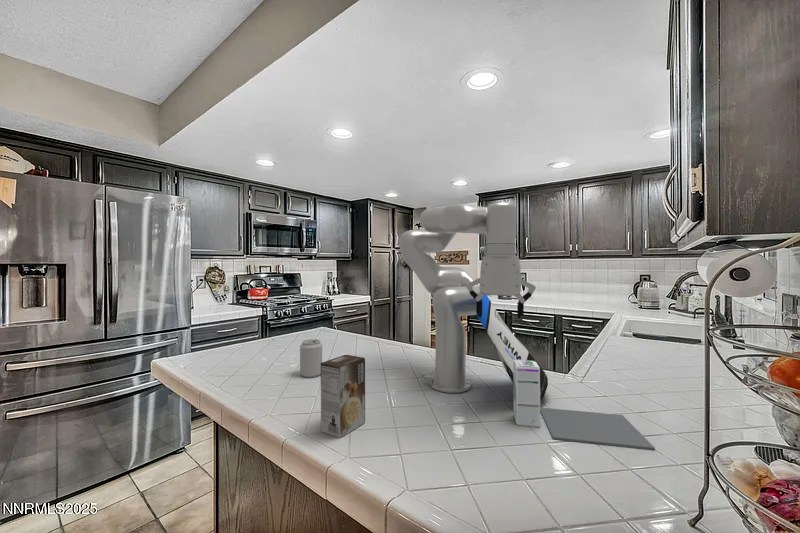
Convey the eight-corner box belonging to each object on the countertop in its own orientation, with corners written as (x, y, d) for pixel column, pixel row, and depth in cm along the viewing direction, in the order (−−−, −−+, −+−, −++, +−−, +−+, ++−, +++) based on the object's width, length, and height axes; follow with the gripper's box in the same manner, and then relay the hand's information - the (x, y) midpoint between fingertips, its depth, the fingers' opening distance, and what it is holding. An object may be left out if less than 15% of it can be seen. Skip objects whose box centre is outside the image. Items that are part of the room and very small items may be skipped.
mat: (552, 439, 76) (552, 437, 76) (539, 409, 91) (539, 407, 91) (654, 450, 71) (655, 447, 71) (622, 416, 87) (622, 414, 87)
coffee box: (345, 416, 86) (346, 353, 86) (366, 422, 83) (366, 357, 83) (319, 431, 79) (319, 362, 78) (340, 439, 75) (340, 366, 75)
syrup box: (541, 427, 81) (541, 367, 81) (515, 425, 82) (515, 365, 82) (536, 417, 87) (537, 360, 86) (512, 414, 88) (512, 358, 88)
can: (326, 373, 119) (326, 339, 119) (310, 380, 113) (310, 344, 113) (311, 370, 123) (311, 337, 123) (295, 375, 117) (295, 341, 117)
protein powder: (543, 358, 111) (495, 281, 110) (553, 403, 89) (492, 307, 87) (516, 369, 115) (469, 294, 113) (519, 415, 92) (460, 322, 91)
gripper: (465, 250, 87) (464, 317, 87) (537, 250, 82) (536, 321, 82) (468, 251, 94) (467, 313, 95) (534, 251, 89) (533, 316, 90)
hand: (499, 317), depth 88 cm, fingers open, 9 cm apart
